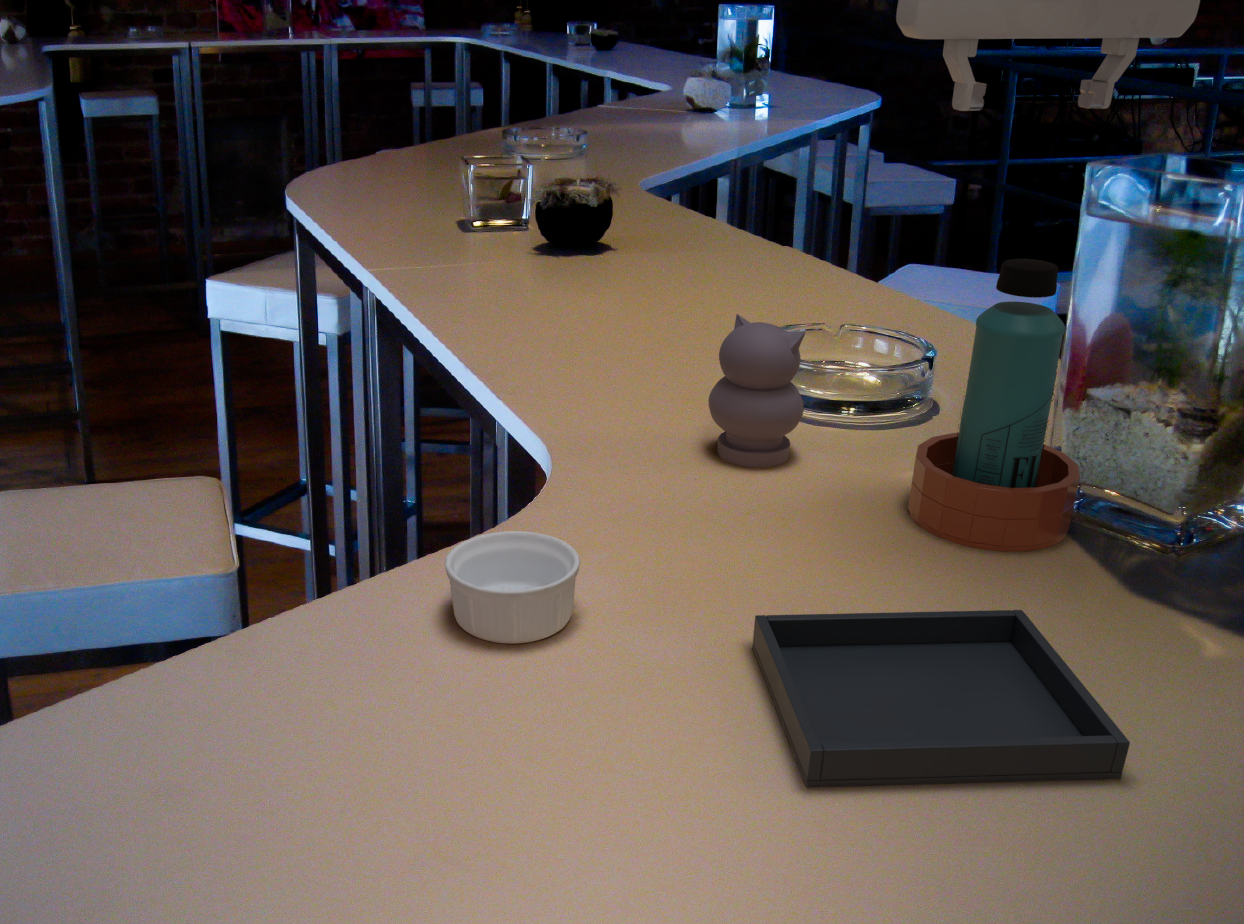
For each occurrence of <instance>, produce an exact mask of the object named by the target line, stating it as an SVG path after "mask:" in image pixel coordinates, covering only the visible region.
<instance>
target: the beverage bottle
mask: <svg viewBox="0 0 1244 924" xmlns="http://www.w3.org/2000/svg"><path fill="white" fill-rule="evenodd" d="M1058 275H1059V266H1057V264H1055V263H1054V262H1053V263H1052V262H1049V261H1046V260H1040V259H1036V258H1035V259H1034V258H1011V259H1007V260H1005V261H1003V262H1002V264H1001V267H1000V271H999V276H998V278H997V280H996V286H995V289H996V290H997V291H998V292H1000V293H1003V294H1006V295H1010V296H1014V297H1021V298H1035V299H1037V298H1038V299H1039V298H1040V299H1041V298H1049V297H1053V296H1055V295H1056V294H1057V289H1058ZM1065 331H1066V325H1065V323H1064V321H1063V320H1062V319H1061V318H1060V316H1059V315H1058V314H1057V313H1056V312H1055V311H1054V310H1053V309H1052V308H1050V307H1049V306H1045V305H1043V304H1038V303H1035V302H1034V303H1033V302H1026V301H1013V300H1012V301H1000V302H997V303H994V304H993V305H992V306H990V307H988V308H987V309H986V310H984V311H983V312H981V313H980V314H979V315H978V316H977V318H976V322H975V333H974V338H973V345H972V352H971V356H970V357H971V358H970V362H969V363H970V364H969V371H968V377H967V384H966V390H965V395H964V396H963V398H962V400H963V403H962V404H963V405H962V408H960V410H959V419H960V422H959V423H958V426H957V430H956V431H957V432H956V433H959V436H958V435H957V437H958V442H957V448H956V446H955V448H956V457H955V460H954V463H952V466H953V464H954V467H953V468H954V470H953V474H952V475H953V476H955V477H958V478H962V479H965V480H969V481H972V482H976V483H979V484H986V485H993V486H1001V487H1008V488H1035V487H1036V486H1038V484H1036V483H1037V482H1039V479H1038V481H1037V478H1039V477H1040V472H1041V470H1040V472H1039V476H1038V470H1039V465H1040V460H1041V454H1042V451H1043V448H1044V444H1045V442H1046V441H1047V439H1046V438H1047V436H1048V435H1047V434H1048V433H1047V429H1049V425H1050V424H1049V422H1050V420H1049V416H1050V411H1051V406H1052V402H1053V401H1054V400H1055V393H1054V391H1055V390H1056V386H1057V385H1058V383H1056V381H1057V376H1058V369H1059V365H1058V364H1059V360H1060V354H1061V348H1062V342H1063V338H1064V334H1065ZM961 410H962V411H961ZM957 437H956V438H957ZM956 441H957V440H956ZM955 445H956V444H955ZM1043 452H1044V451H1043ZM953 456H955V455H953ZM1043 456H1044V454H1043ZM953 459H954V457H953ZM1042 461H1043V458H1042ZM1041 464H1042V463H1041ZM1041 466H1042V465H1041ZM953 468H952V469H953ZM1040 469H1041V467H1040ZM951 473H952V471H951ZM1036 481H1037V482H1036Z"/></svg>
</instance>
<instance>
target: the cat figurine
mask: <svg viewBox="0 0 1244 924" xmlns="http://www.w3.org/2000/svg"><path fill="white" fill-rule="evenodd" d="M806 333H807V331H786V329H783V328H781V327H780V326H778V325H775V324H772V323H769V322H762V321H761V322H760V321H757V322H750V321H749V320H747V319H746V318H744V317H743V316H741V315H740V314H739V313H736V316H735V321H734V327H733V330H731V331H730V332H729V333H728V335H726V337H725V338H724V339H723V341H722V342H721V344H720V347H719V351H718V361H719V365H720V369H721V371H722V373H723V375H724V376H723V377H721V378H720V379H719V380H718V381H717V382H716V383H715V385H714V386H713V387H712V389H711V390H710V393H709V395H708V409H709V413H710V416H711V418H712V420H713V421H714V423H715V424H716V425H717V426H718V427H719V428H720V429H721V430H722V432H721V433H720V434H719V435H718V437H717V448H716V449H717V450H716V451H717V456H719V458H721V459H722V460H724V461H725V462H728V463H730V464H734V465H736V466H741V467H747V468H770V467H775V466H779V465H783V464H784V463H786V462H787V461H788V459H789V458H790V452H791V441H790V438H788V437H787V436H786V435H788V434H790V433H792V431H793V430H795V429H796V428H797V426H798V425H799V423H800V421H801V419H802V417H803V414H804V410H805V409H804V408H805V407H804V406H805V404H804V400H803V397H802V395H801V393H800V391H799V389H798V387H796V385H795V384H794V383H793V382H792V381H793V380H794V378H795V376H796V375H797V373H798V372H799V369H800V365H801V352H800V347H801V344H802V343H803V340H804V337H805V335H806Z"/></svg>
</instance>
